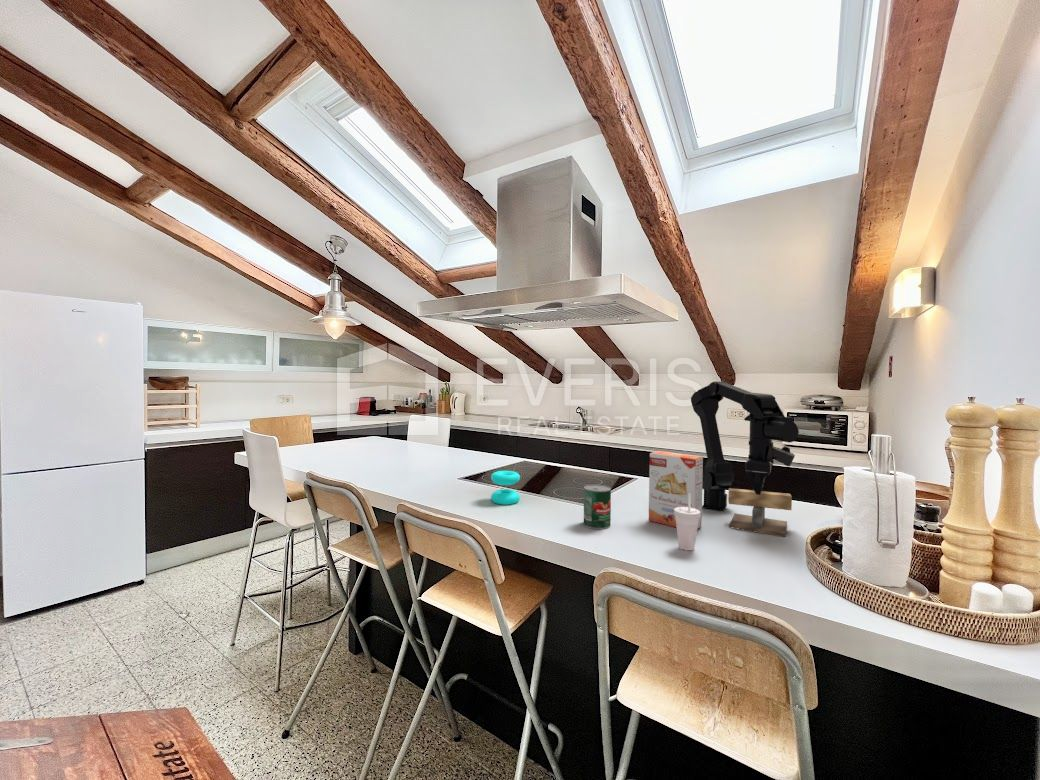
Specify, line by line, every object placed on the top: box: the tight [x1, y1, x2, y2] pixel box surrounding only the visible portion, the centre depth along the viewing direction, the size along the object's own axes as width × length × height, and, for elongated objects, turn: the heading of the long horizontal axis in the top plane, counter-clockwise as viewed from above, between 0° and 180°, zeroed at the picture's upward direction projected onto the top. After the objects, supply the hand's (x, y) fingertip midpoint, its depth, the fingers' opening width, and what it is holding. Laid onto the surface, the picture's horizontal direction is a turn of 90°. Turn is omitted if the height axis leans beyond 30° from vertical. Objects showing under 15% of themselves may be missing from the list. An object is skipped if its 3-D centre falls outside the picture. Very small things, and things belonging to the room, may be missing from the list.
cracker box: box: [648, 450, 704, 530], centre depth 131 cm, size 14×6×21 cm, turn 47°
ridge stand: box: [728, 506, 788, 538], centre depth 130 cm, size 14×12×6 cm
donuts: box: [490, 470, 521, 506], centre depth 154 cm, size 10×10×10 cm
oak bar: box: [727, 488, 793, 511], centre depth 130 cm, size 16×3×4 cm, turn 68°
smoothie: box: [674, 493, 701, 551], centre depth 113 cm, size 6×6×14 cm
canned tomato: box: [583, 484, 612, 530], centre depth 130 cm, size 8×8×11 cm
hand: (759, 490), depth 130 cm, fingers open, 9 cm apart
